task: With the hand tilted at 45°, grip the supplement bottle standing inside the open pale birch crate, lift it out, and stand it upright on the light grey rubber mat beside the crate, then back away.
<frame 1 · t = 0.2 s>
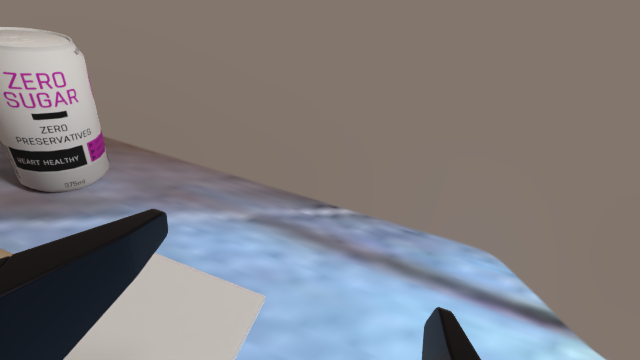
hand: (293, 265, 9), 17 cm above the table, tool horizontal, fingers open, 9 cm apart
supplement can: (68, 175, 34), on the table
mat: (155, 341, 22), on the table
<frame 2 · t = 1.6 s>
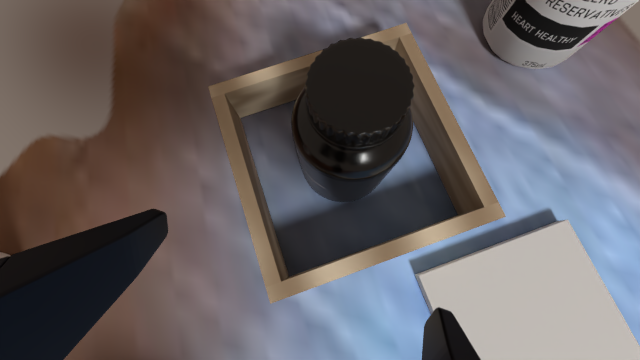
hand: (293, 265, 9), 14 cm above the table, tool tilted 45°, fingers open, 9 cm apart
supplement bottle: (343, 164, 24), resting in crate
supplement can: (522, 36, 27), on the table
mat: (526, 328, 21), on the table
crate: (343, 163, 24), on the table
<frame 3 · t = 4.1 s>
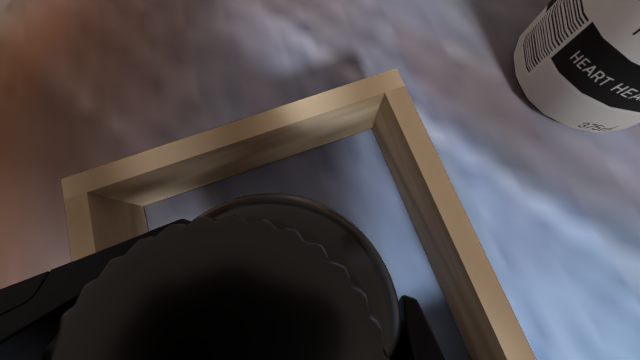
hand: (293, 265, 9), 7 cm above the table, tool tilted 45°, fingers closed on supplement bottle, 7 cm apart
supplement bottle: (298, 285, 15), resting in crate, touching gripper
supplement can: (572, 77, 18), on the table
crate: (298, 286, 15), on the table
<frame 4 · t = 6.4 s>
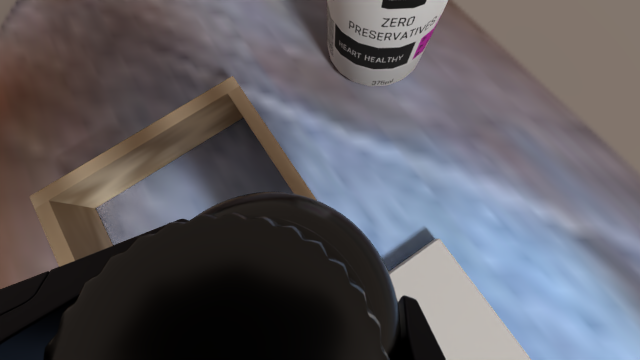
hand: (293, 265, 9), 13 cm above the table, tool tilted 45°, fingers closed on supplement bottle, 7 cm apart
supplement bottle: (298, 284, 15), point 6 cm above the table, touching gripper
supplement can: (373, 51, 26), on the table
crate: (211, 232, 23), on the table
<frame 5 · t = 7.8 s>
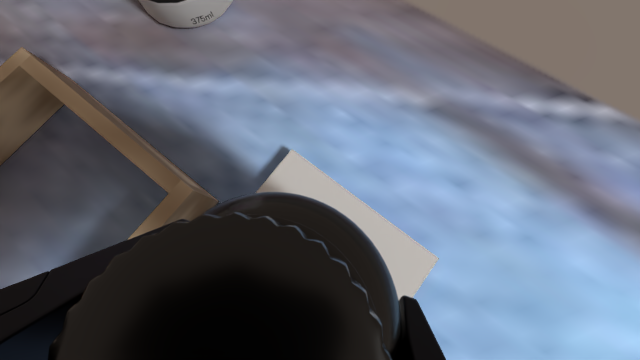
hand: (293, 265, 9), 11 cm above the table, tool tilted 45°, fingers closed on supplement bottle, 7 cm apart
supplement bottle: (299, 284, 16), point 4 cm above the table, touching gripper
mat: (306, 274, 19), on the table
crate: (61, 221, 21), on the table
when the fingers open (9 cm above the table, at t = 8.7 s): supplement bottle drops 1 cm, resting on mat.
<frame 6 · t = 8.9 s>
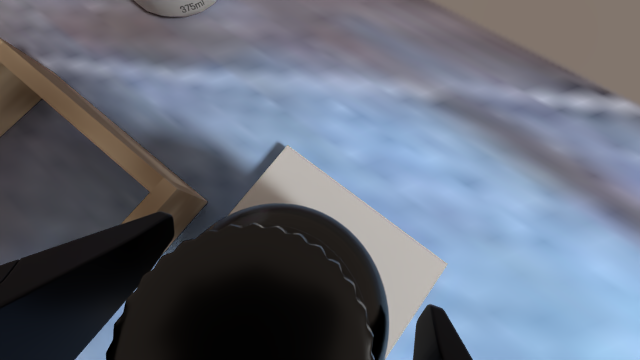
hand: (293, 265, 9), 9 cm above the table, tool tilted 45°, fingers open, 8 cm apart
supplement bottle: (299, 285, 17), point 1 cm above the table, touching mat
mat: (303, 281, 18), on the table
crate: (36, 223, 19), on the table
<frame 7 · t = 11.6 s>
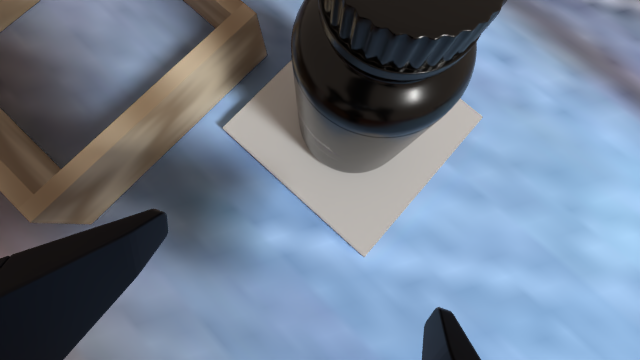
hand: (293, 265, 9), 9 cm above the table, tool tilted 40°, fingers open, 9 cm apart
supplement bottle: (352, 125, 19), point 1 cm above the table, touching mat
mat: (352, 127, 20), on the table
crate: (104, 60, 20), on the table
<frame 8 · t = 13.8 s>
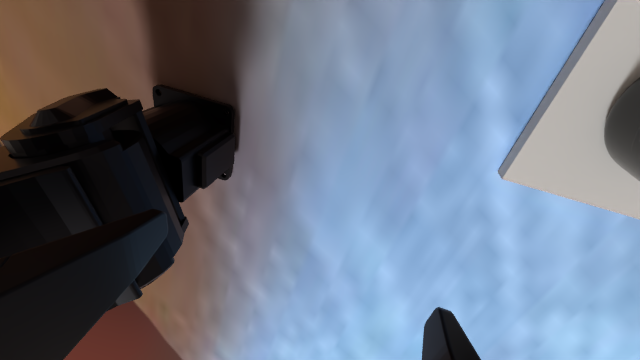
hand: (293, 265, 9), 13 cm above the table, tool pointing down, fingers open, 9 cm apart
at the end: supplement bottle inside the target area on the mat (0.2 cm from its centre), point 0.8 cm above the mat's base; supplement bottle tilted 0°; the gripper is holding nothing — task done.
